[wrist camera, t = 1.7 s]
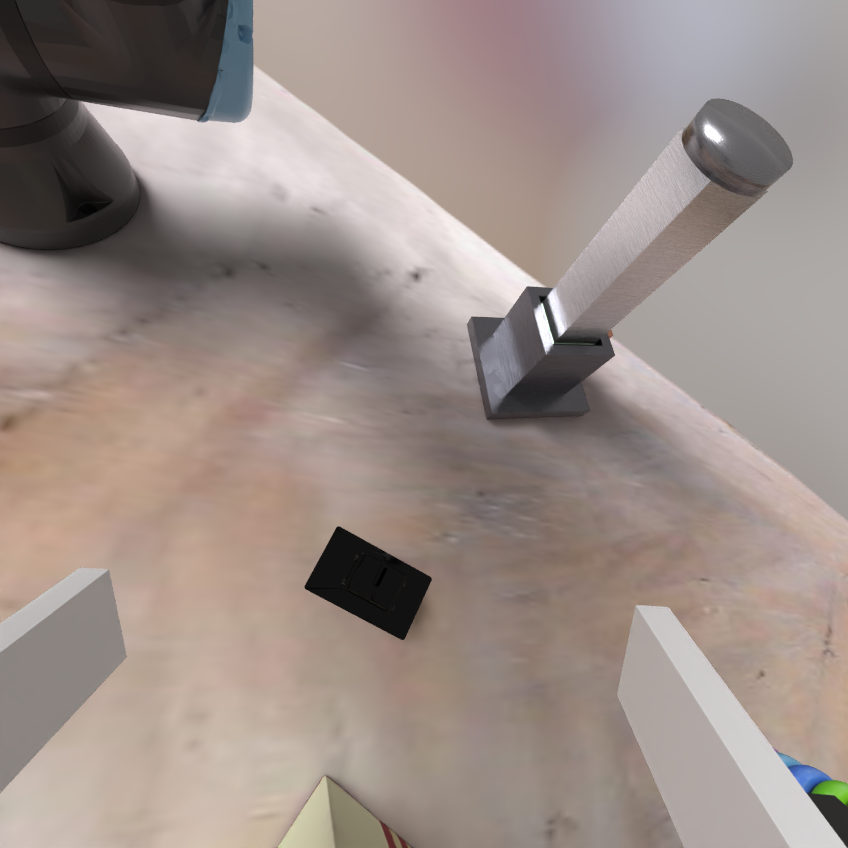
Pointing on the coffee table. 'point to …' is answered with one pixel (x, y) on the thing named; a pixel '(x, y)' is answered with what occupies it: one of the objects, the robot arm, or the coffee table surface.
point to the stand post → (668, 219)
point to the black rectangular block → (369, 583)
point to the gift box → (338, 823)
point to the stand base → (531, 363)
